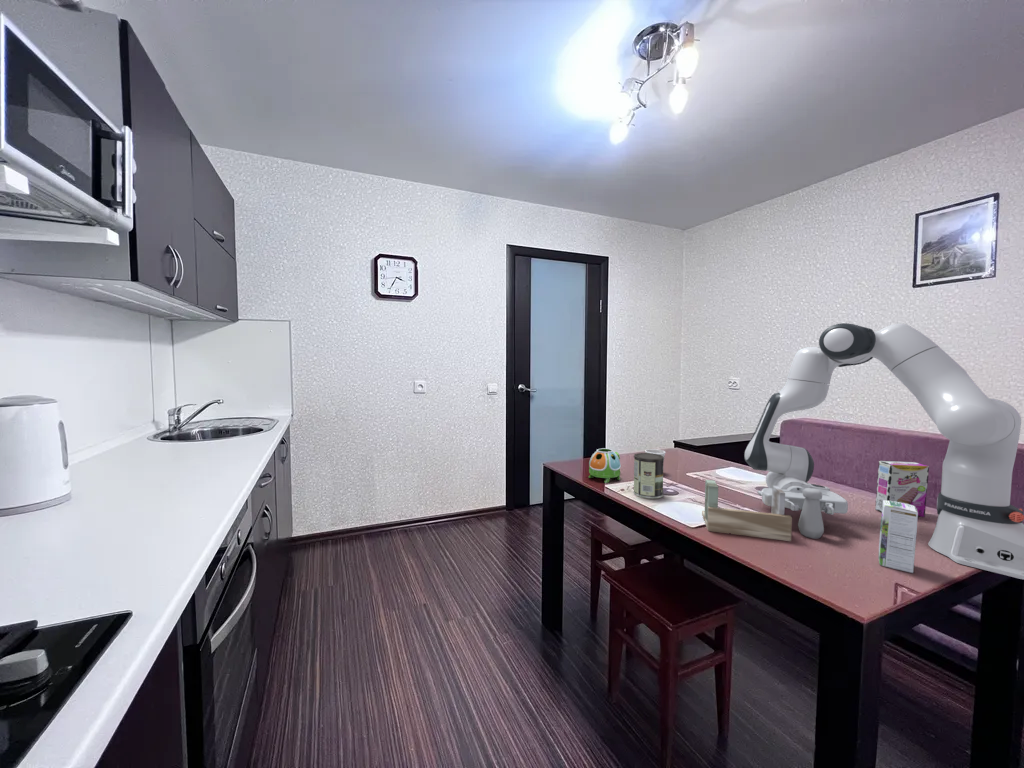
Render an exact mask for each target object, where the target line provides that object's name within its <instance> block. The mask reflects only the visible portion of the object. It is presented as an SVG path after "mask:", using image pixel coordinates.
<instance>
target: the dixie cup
mask: <svg viewBox="0 0 1024 768" xmlns="http://www.w3.org/2000/svg"><path fill="white" fill-rule="evenodd" d="M644 453H653V454H658V455H662V456H663V457H664V458H665V455H666V451H665V450H662V449H658V448H656V449H655V448H649V449H647V448H646V449H645V450H644ZM664 462H665V461H664ZM664 462H663V464H664Z"/></svg>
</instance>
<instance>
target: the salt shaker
mask: <svg viewBox="0 0 1024 768" xmlns="http://www.w3.org/2000/svg"><path fill="white" fill-rule="evenodd" d="M803 496H804V497H805V501H804V504H803V508H802V510H801V512H800V516H799V519H798V522H797V527H798V530H799V532H800V534H801V535H802V536H804V537H805V538H810V539H813V540H814V539H821V537H822V536H823V534H824V532H825V528H824V527H825V526H824V522H823V521H824V520H823V515H822V511H821V508H820V501H819V500H820V499H822V492H821V491H820V490H817V489H813V488H805V489H804V490H803Z"/></svg>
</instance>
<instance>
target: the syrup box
mask: <svg viewBox="0 0 1024 768" xmlns="http://www.w3.org/2000/svg"><path fill="white" fill-rule="evenodd" d="M880 517H881V520H880V528H879V529H880V530H879V540H878V543H879V544H878V562H879V566H882V567H886V568H890V569H894V570H898V571H903V572H906V573H910V574H914V568H915V556H916V545H917V543H916V542H917V534H918V533H917V531H918V518H919V516H918V512H917V509H916V507H915V506H913V505H909V504H905V503H901V502H895V501H887V500H883V505H882V513H881V516H880Z"/></svg>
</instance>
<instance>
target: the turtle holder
mask: <svg viewBox="0 0 1024 768" xmlns="http://www.w3.org/2000/svg"><path fill="white" fill-rule="evenodd" d="M620 459H621V456H620V453H618V451H614V449H611V448H607V447H606V448H605V447H602V448H598V449H597V448H596V451H594V453H592V455H591V457H590V459H589V462H588V468H589V469H588V473H589V475H588V478H589V479H594V477H595V478H601V479H604V480H603V481H604V483H605V484H608V483H610V479H613V478H616V480H618V481H620V480H621V476H620V475H621V467H622V465H621V460H620Z"/></svg>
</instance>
